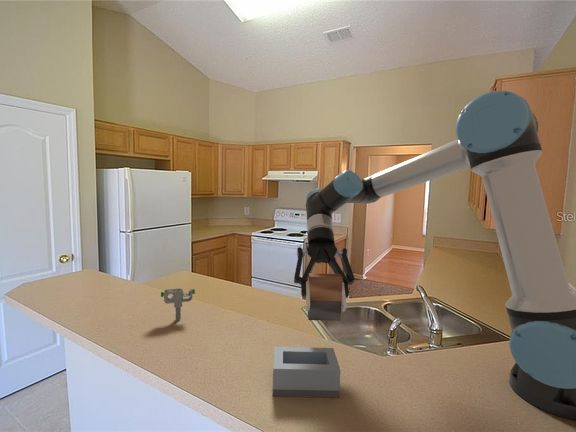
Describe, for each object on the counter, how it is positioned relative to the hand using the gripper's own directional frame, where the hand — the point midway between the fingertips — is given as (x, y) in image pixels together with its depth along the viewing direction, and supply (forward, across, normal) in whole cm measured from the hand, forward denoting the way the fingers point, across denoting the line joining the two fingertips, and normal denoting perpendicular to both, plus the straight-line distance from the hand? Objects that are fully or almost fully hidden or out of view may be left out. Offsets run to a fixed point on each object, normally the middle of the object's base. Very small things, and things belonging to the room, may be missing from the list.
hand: (326, 308), depth 73 cm
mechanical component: (-8, +44, -29) cm, 53 cm away
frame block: (+15, +5, -6) cm, 17 cm away
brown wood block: (0, 0, -5) cm, 5 cm away
